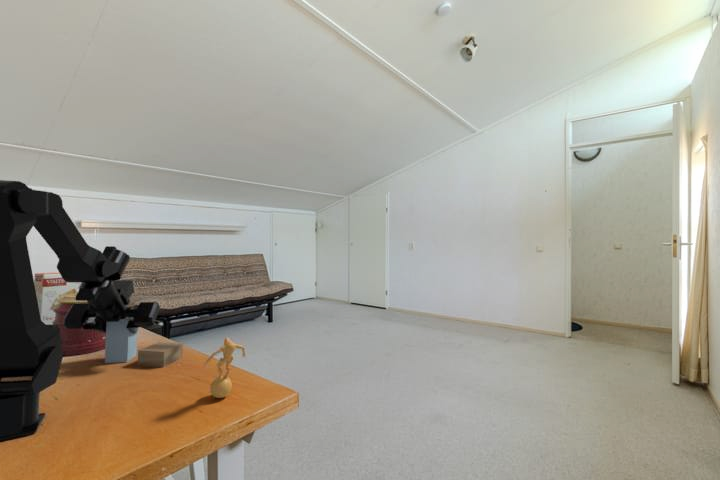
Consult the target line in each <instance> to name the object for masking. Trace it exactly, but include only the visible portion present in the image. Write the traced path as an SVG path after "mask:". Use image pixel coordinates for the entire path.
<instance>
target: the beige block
mask: <svg viewBox="0 0 720 480" xmlns="http://www.w3.org/2000/svg"><path fill="white" fill-rule="evenodd" d="M183 354H184V343H179V342H177V343H176V342H160V341H159V342H156V343H153V344H152V345H148V346H146V347H143V348H140V349H137V366H139V367H151V368H152V367H153V368H165V367H167V366H169V365H172V364H173V363H176V362H178V361H180V360H181V359H183V358H184V356H183Z"/></svg>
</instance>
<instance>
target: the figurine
mask: <svg viewBox="0 0 720 480" xmlns="http://www.w3.org/2000/svg"><path fill="white" fill-rule="evenodd" d="M235 349H240V350H241V353H242V354H241V357H243V358H244V357H246V352H245V346H243V345H241V344H237V343H234V342H233V341H232V340H231V339H230V338H229V337H226V338H225V339H224V341H223V345H222V346H221V347H220V348H219V349H217V350H215V351H214V352H213V353H212V354H211V355H210V356H209V358H208V359H207V360H206V361H205V363H204V365H203V369H204V368H205V366H206V365H207V364H208V363H210V362H211V360H212V359H213V358H214V357H215V356H216V355H219V354H220V353H221V352H222V355H223V357H220V358H219V361H218V362H217V364H216V368H217V370H218V371H217V372H218V373H219V374H218V376H217V377H215V378H214V379H213V380H212V382H211V384H210V386H209V391H210V392H209V393H210V394H211V396H213V397H214V398H217V399H222V398H225V397H226V396H229V395H228V394H230V392H231V390H232V388H233V384H232V383H233V382H232V381H231V379H230V378H229V377H228V376H229V374H230V370H231V367H230V366H229V365H231V364H232V362H233V361H234V355H233V354H234V352H235V351H236V350H235ZM224 364H225V366H226V373H225V374H224V375H223V370H222V368H221V367H223V366H224Z"/></svg>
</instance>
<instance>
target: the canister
mask: <svg viewBox="0 0 720 480" xmlns="http://www.w3.org/2000/svg"><path fill="white" fill-rule="evenodd" d="M76 295H77V294H71V295H66V296H64V297H63V298H61V299H59V300H58V302H59V303H60V304H59V306H58V307H56V308H54V309H53V312H55V320H54V321H53V322H52V324H57V325H58V327H59V328H60V338H61V341H62V342H63V345H61V348H62V350H63V356H75V355H82V354H83V355H84V354H89V353H94V352H98V351H101V350H105V345H106V333H103V332H98V331H93V330H85V329H83V327H82V328H79V329H68V328H67V327H66V326H65V325H64V323H63V319H64V318H65V316H66V315H67V313H68V311H69V310H70V308H71V306H72V305H73V304H74V303H88V302H87V301H76V300H75V298H76ZM83 326H84V325H83Z"/></svg>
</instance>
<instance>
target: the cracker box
mask: <svg viewBox="0 0 720 480" xmlns="http://www.w3.org/2000/svg"><path fill="white" fill-rule="evenodd" d="M33 279H34V285H35V290H36V296H37V301H38V307H39V312H40V317H41V321H42V322H43V323H45V324H46V325H53V324H52V322H53V321H54V320H55V312H53V309H54V308H56V307H58V306H59V304H60V303H59V302H58V300H59V299H61V298H63V297H64V296H66V295H71V294H77V293H78V291H79V286H80V285H81V283H82V282H72V283H71V282H66V281H65V280H64V279H63V278H62V276H61V274H60V273H59V272H42V273H41V272H40V273H39V272H38V273H34V276H33Z"/></svg>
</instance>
